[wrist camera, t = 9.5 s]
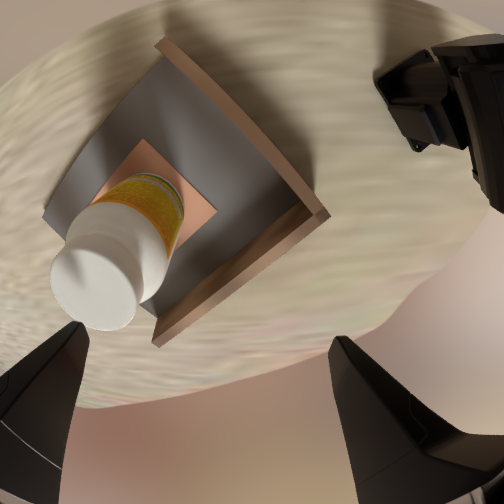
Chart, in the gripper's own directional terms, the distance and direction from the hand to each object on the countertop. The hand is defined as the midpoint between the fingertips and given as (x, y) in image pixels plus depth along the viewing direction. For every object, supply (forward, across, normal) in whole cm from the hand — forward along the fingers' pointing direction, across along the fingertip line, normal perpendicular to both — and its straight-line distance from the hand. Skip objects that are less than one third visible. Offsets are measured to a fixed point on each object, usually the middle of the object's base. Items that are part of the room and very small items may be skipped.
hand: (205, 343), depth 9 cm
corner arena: (+12, +4, -1) cm, 12 cm away
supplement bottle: (+11, +5, 0) cm, 12 cm away
